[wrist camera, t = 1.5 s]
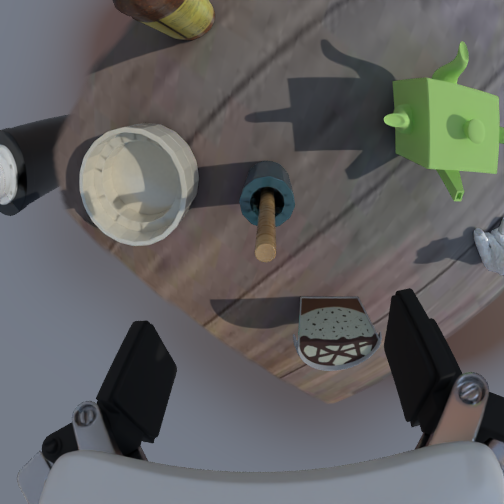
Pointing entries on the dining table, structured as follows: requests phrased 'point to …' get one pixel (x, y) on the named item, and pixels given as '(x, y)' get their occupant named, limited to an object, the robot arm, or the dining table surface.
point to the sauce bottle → (171, 16)
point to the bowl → (138, 182)
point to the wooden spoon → (266, 227)
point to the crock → (267, 177)
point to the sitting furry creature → (491, 248)
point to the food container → (335, 333)
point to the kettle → (447, 124)
